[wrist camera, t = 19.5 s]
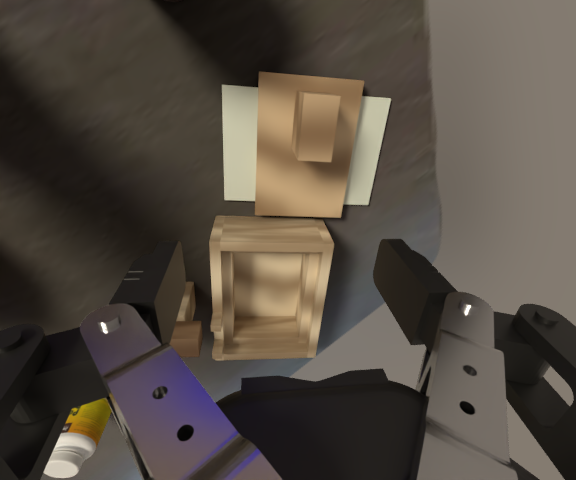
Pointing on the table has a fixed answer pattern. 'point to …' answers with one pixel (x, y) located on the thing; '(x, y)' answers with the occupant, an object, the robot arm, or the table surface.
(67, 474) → the supplement bottle
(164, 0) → the coffee mug
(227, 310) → the wooden box
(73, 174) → the table surface
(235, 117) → the mat
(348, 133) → the lid
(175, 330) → the brown wooden bar
